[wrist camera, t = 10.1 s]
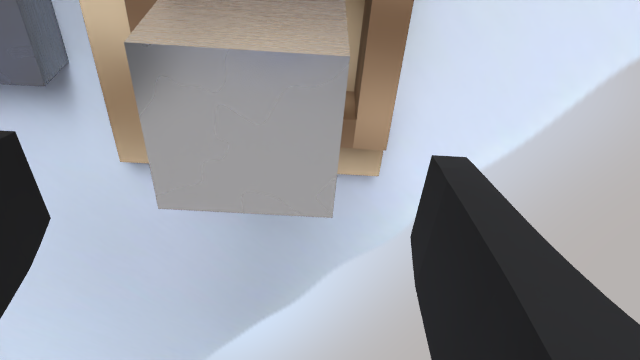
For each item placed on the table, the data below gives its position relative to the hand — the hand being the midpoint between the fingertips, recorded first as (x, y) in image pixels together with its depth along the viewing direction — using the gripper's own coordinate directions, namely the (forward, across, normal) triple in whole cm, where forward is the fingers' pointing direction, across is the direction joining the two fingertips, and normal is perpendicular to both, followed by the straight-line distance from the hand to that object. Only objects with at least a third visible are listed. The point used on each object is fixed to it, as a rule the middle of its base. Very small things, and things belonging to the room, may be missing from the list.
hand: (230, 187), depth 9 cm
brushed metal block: (+9, 0, 0) cm, 9 cm away
